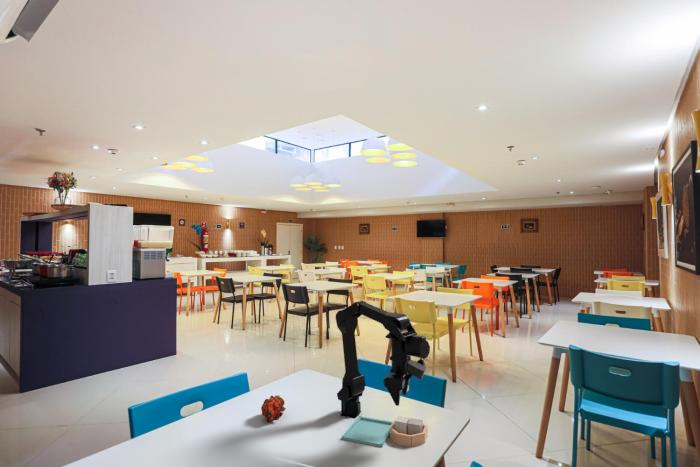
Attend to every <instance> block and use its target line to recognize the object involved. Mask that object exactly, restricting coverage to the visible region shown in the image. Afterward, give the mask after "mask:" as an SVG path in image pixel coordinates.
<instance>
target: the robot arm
mask: <svg viewBox="0 0 700 467" xmlns="http://www.w3.org/2000/svg"><path fill="white" fill-rule="evenodd" d="M362 316H364V317H365V318H369V319H370V320H373V321H375V322H377V323H379V324H381V325H382V326H383V327H384V329H385V330H387V331H388V333H387V334H385V338H386V339H388V340H389V339H390V351H391V352H390V356H389V361H391V368H390V369H389V374H388V375H386V376H385V378H384V379H383V380H382V382H383V385H382V386H383V387H385V389H386V390H387V391H388V393H389V395H390V397H391V399H392V400H393V403H394V405H395V406H398V407H399V406H400V401H401V393H402V395H403V396H407V393H408V389H409V384H410V379H411V378H412V377H413V376H414V377H415V378H416V379H418V380H422V379H423V377H424V376H425V372H426V370H427V365H426V364H425V359H427V358H428V356H429V354H430V352H431V347H430V343H429V342H428V340H427V338H426V336H425V335H418V333H417V331H416V329H415V327H414V326H413V324H412V322H411V320H410V318H409V316H408V315H407V314H404V313H400V312H390V311H386V310H384V309H383V308H382V309H381V308H380V307H377V306H375V305H373V304H371V303H367V302H366V301H364V300H358V301H355V302H353V303H352V304H351V305H349V306H346V308H343V309H341V310H338V311H337V313H336V314H335V322H336V326H337V329H338V330H339V331H340V333H341V339H342V348H343V350H342V351H343V360H344V369H345V371H344V375H343V378H342V382H341V384H342V386H341V389H339V390H338V391H337V393H336V398H337V400H338V401H340V407H341V408H340V409H341V410H340V412H341V413H340V414H339V417H343V418H349V419H357V417H359V416H360V414H361V413H362V410H361V408H362V407H361V405H362V404H361V401H360V397H363V394H364V391H365V389H366V386H367V384H366V377H365V375H364V374H362V373H361V372H360V371H359V362H358V361H359V360H358V351H357V345H356V344H357V342H356V330H357V327H358V325H359V324H358V322H359V320H358V318H360V317H362ZM412 357H413V358H414V357H415V358H419V359H417V360H412Z"/></svg>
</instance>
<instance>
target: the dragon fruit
mask: <svg viewBox="0 0 700 467" xmlns="http://www.w3.org/2000/svg"><path fill="white" fill-rule="evenodd" d="M286 409H287V408H286V407H285V399H283V398H282V397H281V396H280V395H270V396H269V398H266V399H265V400H263V403H262V405H261V409H260V410H261V414H262V416H263V417H264V418H265V419H266V422H267V423H269V422H270V421H275V419H277V418H278V419H280V418H281V417H282V416H283V414H284V412H285V411H286ZM278 419H277V420H278Z"/></svg>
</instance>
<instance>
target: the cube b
mask: <svg viewBox="0 0 700 467" xmlns="http://www.w3.org/2000/svg"><path fill="white" fill-rule="evenodd" d="M423 423H424V422H423V419H420V418H412V417H410V420H409V422H408V435H414V434H418V433H422V432H423Z"/></svg>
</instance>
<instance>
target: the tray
mask: <svg viewBox="0 0 700 467" xmlns="http://www.w3.org/2000/svg"><path fill="white" fill-rule="evenodd" d="M357 417H358V418H357ZM357 417H356V419H355V421H354V422H352V424H351V425H350V427H349V428H348V429H347V430H346V431H345V432H344V433H343V435H342V436H341V440H343V441H349V442H353V443H358V444H363V445H368V446H373V447H377V448H378V447H379V448H383V446H384V445H385V443H386V442H387V440H388V439H389V438H390V426H391V424H392V423H393V421H392V420H386V419H380V418H379V419H378V418H375V417H367V416H362V415H358V416H357Z"/></svg>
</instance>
